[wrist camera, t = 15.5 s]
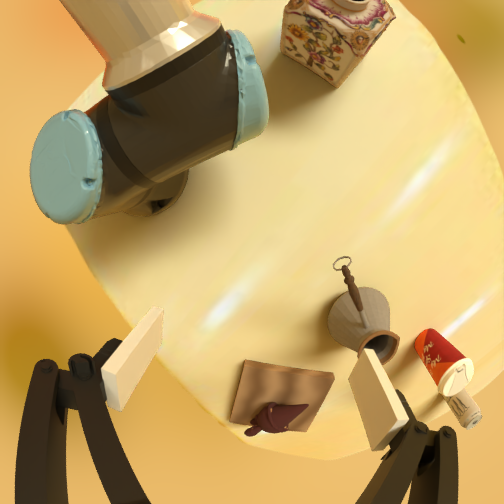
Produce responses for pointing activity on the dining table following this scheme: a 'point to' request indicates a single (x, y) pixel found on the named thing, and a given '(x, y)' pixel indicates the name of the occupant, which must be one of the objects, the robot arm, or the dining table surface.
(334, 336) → the coffee pot
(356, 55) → the decorative jar
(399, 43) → the dining table surface
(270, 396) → the serving board
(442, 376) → the coffee cup
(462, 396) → the energy drink can
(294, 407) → the icecream
